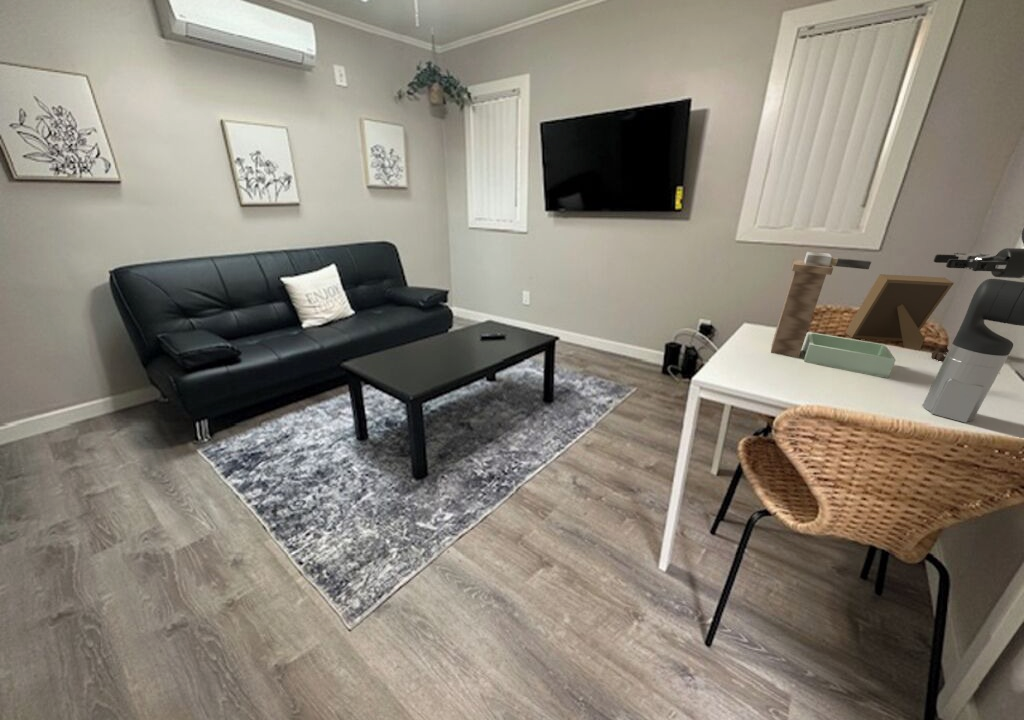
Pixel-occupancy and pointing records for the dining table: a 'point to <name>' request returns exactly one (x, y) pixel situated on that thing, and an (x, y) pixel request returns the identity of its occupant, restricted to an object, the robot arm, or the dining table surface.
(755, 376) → the dining table surface
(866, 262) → the scraper
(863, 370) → the tray
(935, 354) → the bear figurine
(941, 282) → the photo frame
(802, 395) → the dining table surface
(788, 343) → the scratching post
